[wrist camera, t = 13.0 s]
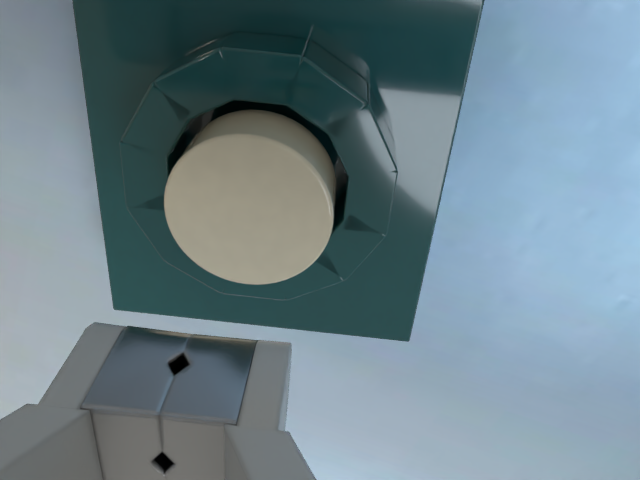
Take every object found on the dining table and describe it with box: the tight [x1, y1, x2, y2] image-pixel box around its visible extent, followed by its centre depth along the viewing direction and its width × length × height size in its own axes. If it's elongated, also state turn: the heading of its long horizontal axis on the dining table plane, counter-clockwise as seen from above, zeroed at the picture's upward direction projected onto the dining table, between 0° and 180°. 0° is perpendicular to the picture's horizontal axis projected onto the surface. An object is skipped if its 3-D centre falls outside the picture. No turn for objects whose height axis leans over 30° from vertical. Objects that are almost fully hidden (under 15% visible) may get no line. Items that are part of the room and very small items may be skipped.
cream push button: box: [164, 110, 337, 285], centre depth 14 cm, size 4×4×2 cm
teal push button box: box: [72, 0, 484, 341], centre depth 17 cm, size 12×10×5 cm
